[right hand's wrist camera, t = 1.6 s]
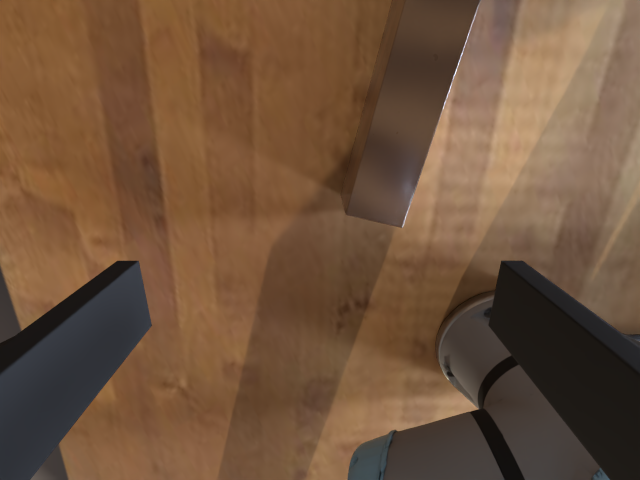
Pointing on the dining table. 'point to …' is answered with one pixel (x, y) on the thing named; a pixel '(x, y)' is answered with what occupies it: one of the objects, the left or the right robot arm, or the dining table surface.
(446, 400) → the dining table surface
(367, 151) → the bar
